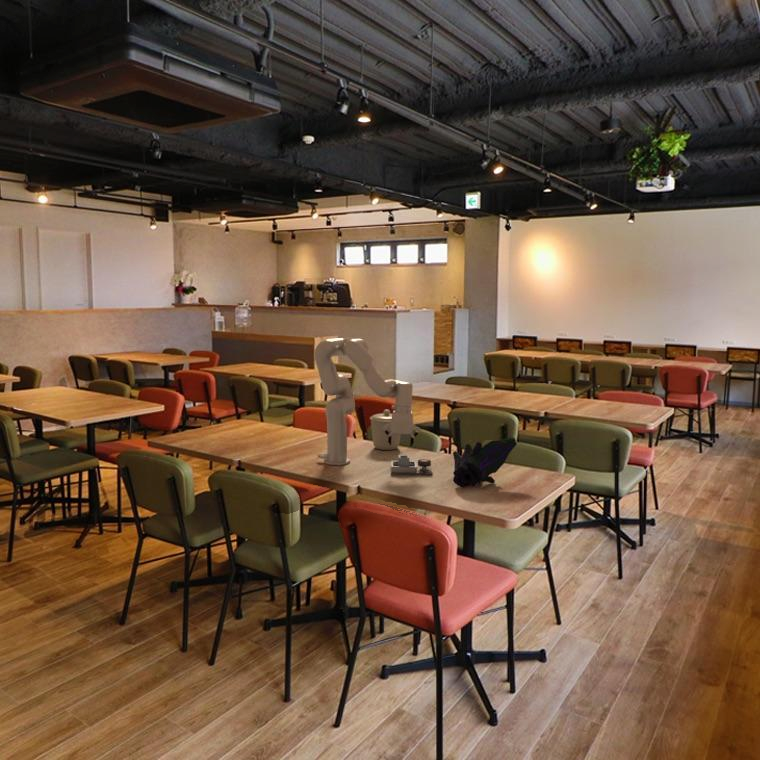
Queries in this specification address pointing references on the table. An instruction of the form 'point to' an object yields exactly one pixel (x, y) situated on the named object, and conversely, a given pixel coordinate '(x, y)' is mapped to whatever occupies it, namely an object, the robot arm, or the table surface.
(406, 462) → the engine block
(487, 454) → the decorative plant
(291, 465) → the table surface
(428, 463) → the wheel
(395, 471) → the chassis
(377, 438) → the canister
